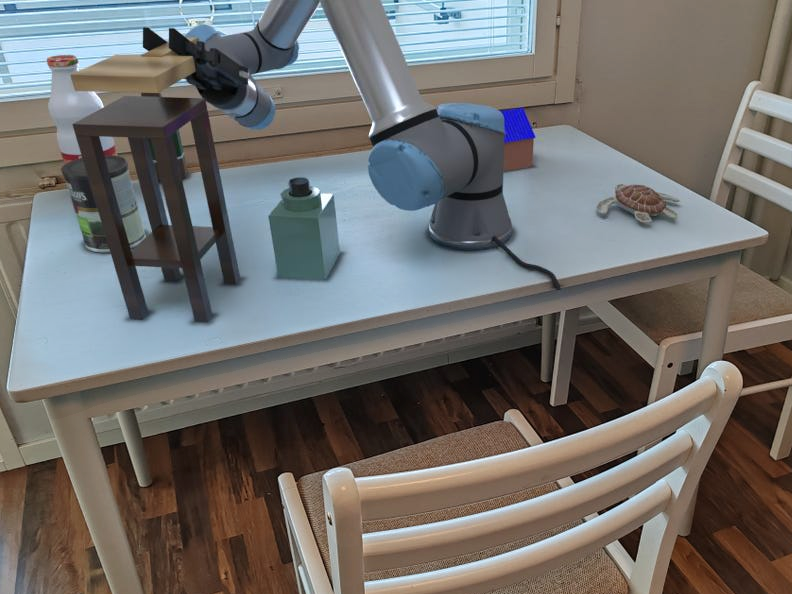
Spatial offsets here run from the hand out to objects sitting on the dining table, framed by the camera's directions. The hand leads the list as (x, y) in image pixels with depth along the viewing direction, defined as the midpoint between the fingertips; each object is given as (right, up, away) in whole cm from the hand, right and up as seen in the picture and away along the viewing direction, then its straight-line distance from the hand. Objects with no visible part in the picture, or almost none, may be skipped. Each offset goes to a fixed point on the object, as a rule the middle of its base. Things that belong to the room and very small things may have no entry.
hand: (158, 37), depth 103 cm
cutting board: (0, -4, 0) cm, 4 cm away
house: (+46, -1, +65) cm, 80 cm away
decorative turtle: (+76, -16, +44) cm, 89 cm away
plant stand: (-1, -35, +13) cm, 38 cm away
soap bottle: (+16, -29, +23) cm, 40 cm away
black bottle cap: (+16, -18, +16) cm, 29 cm away
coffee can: (-21, -24, +30) cm, 44 cm away
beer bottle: (-22, -5, +57) cm, 62 cm away
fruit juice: (-29, -15, +43) cm, 54 cm away
